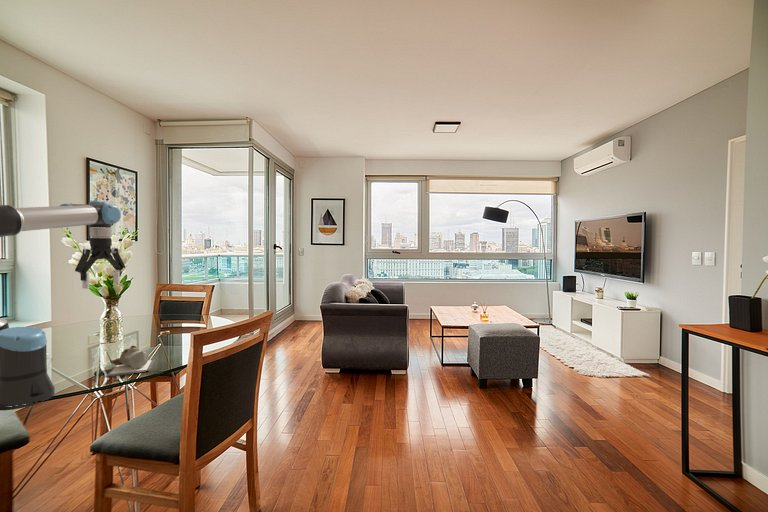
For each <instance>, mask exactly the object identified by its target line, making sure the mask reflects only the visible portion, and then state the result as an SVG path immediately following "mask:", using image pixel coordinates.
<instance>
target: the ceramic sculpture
mask: <svg viewBox="0 0 768 512" xmlns="http://www.w3.org/2000/svg"><path fill="white" fill-rule="evenodd" d="M148 360H149V355H148V353H147V352H146V351H143V350H141V349H140V348H139V347H138V346H135V345H131V346H130V347H129V348H125V349H124V350H123V351H122V352H121V354H120V357H119V358H115V359H110V360H109V362H110V363H111V364H112V365H113V366H114V365H126V366H131V367H132V368H134V369H135V368H141V367H142V366H144V365H146V363H147V361H148Z"/></svg>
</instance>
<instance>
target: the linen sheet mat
mask: <svg viewBox="0 0 768 512" xmlns="http://www.w3.org/2000/svg"><path fill="white" fill-rule="evenodd" d="M154 363H155V359H150V360H149V359H148V361H147V363H146V365H144V366H142V367H141V368H135V369H134V368H132V367H131V366H126V365H114V364H113V367H112V368H111V369H110V370H109V371H108V373H107V374H106V375H105V377H107V378H108V377H118V376H126V375H134V373H137V374H141V373H140V372H143V371H144V370H147V369H148V368H151V369H152V367H153V366H154ZM151 366H152V367H151Z"/></svg>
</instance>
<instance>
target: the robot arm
mask: <svg viewBox="0 0 768 512" xmlns="http://www.w3.org/2000/svg"><path fill="white" fill-rule="evenodd" d="M121 214H122V213H121V210H120V209H119V207H118V206H116V205H114V204H111V203H110V202H107V201H100V200H99V201H97V200H94V201H93V200H91V201H89V202H88V204H87V203H85V204H84V203H83V204H81V203H79V204H75V203H61V204H60V205H57V206H35V207H33V206H32V207H31V206H30V207H14V205H9V204H6V205H5V204H0V238H2V237H4V238H5V237H12V236H17V235H18V234H20V233H22V232H29V231H38V230H47V229H48V230H49V229H59V228H60V229H61V228H69V227H80V226H89V237H90V238H89V246H90V249H89V248H83V249H82V255H81V257H80V258H79V261H78V263H77V265H76V266H75V270H74V272H76V273H78V274H80V281H82V282H81V283H82V289H85V290H87V289H88V290H89V289H90V273H89V272H88V271H89V270H90V269H91V267H92V266H93V265H94V264H95V262H97V261H98V260H107V261H108V263H109V264H110V265H111V266H112V268H114V269H113V271H112V272H113V274H112V275H113V285H120V284H121V277H122V270H123V269H125V268H126V266H125V265H126V264H125V263H124V261H123V259H122V257H121V255H120V253H119V248H118V247H116V248H115V247H112V246H113V245H112V244H113V242H112V241H113V240H112V238H111V237H112V236H113V234H112V224H116V223H118V222H119V221H120V220H121V217H122V215H121ZM47 340H48V339H47V336H46V332H45V330H43V329H42V328H39V327H34V326H14V327H10V326H9V323H8V320H7V319H5V318H1V317H0V411H10V410H11V411H12V410H17V409H23V408H27V407H32V406H35V405H38V404H41V403H44V402H45V400H46V401H47V400H50V399H51V398H53V397H54V396H55V393H56V392H55V385H54V384H53V381H52V380H51V377H50V376H49V374H48V368H47V367H48V365H47V363H48V360H47V359H48V358H47V342H48V341H47ZM38 401H42V402H38ZM33 402H37V403H33ZM28 403H29V404H28ZM22 404H26V405H22ZM15 405H18V406H15ZM4 406H12V407H4Z"/></svg>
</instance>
